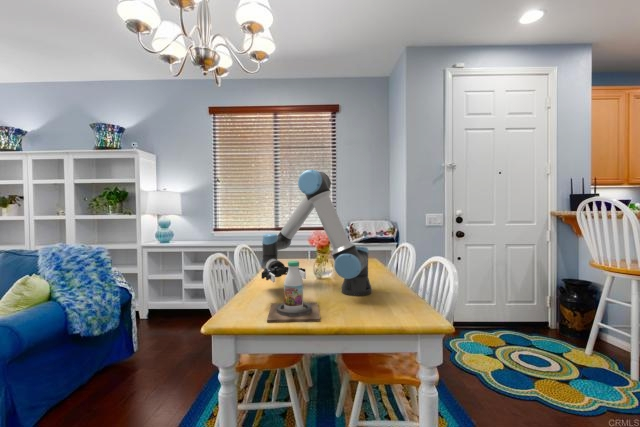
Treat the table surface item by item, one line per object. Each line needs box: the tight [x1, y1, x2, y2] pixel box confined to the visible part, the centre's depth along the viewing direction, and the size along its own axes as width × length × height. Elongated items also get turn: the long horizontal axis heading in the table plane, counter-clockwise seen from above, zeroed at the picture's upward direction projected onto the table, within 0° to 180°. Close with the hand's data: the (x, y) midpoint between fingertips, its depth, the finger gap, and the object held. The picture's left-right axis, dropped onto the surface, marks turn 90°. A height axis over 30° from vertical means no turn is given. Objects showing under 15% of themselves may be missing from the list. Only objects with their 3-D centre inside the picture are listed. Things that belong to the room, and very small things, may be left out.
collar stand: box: [266, 301, 321, 323], centre depth 129 cm, size 20×20×2 cm
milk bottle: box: [283, 260, 304, 311], centre depth 129 cm, size 8×8×20 cm
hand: (289, 277), depth 133 cm, fingers open, 13 cm apart
